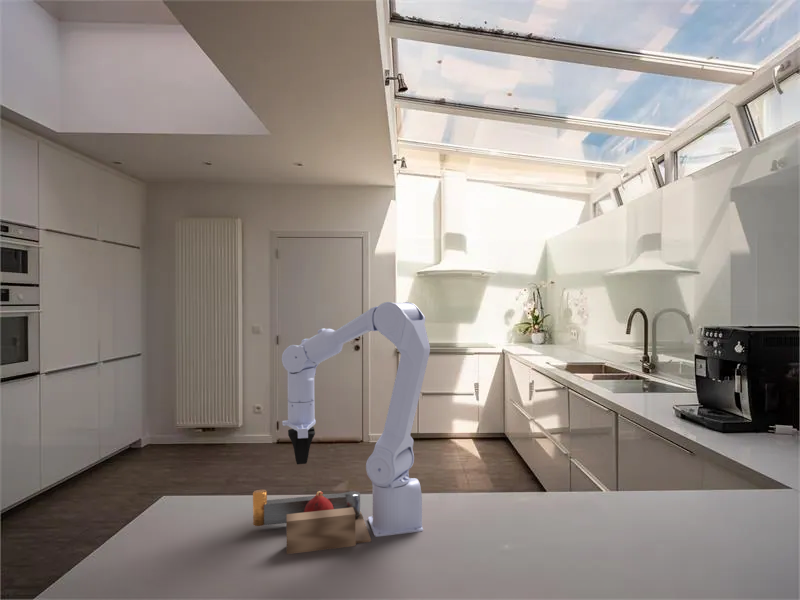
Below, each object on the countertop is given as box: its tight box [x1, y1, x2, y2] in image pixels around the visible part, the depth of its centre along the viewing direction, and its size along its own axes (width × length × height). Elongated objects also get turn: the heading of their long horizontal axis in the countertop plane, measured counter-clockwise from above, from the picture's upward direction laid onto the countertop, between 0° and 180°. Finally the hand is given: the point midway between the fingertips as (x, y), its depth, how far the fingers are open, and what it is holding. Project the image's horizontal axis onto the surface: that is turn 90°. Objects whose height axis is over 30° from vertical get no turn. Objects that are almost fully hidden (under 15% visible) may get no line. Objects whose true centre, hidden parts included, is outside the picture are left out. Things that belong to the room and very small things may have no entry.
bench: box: [286, 507, 372, 555], centre depth 91 cm, size 15×13×6 cm
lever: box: [252, 488, 361, 527], centre depth 95 cm, size 21×3×6 cm, turn 103°
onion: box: [304, 490, 334, 512], centre depth 91 cm, size 6×6×8 cm
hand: (301, 463), depth 103 cm, fingers closed
